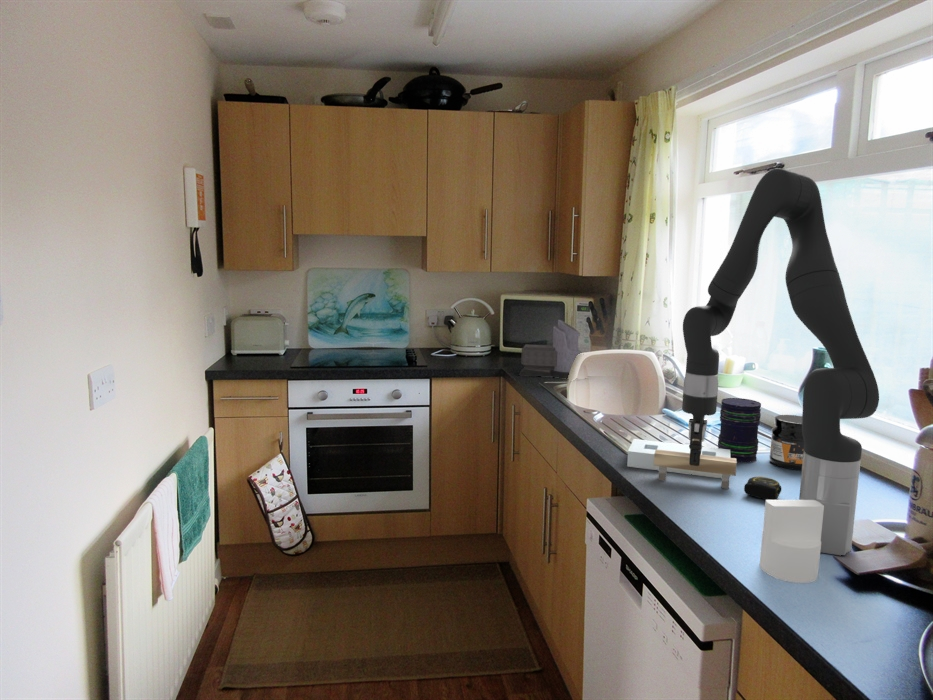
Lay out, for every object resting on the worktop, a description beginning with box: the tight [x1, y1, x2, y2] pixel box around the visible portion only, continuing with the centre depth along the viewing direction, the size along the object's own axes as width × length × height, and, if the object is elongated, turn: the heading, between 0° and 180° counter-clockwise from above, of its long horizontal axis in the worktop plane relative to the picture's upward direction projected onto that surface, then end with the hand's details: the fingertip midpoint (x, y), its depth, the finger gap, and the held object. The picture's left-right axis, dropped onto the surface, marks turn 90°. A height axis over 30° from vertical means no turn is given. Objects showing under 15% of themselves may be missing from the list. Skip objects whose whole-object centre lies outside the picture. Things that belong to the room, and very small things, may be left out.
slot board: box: [626, 438, 730, 479], centre depth 170 cm, size 12×24×4 cm, turn 69°
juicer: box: [518, 319, 583, 379], centre depth 290 cm, size 30×16×24 cm, turn 80°
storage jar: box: [717, 397, 762, 464], centre depth 177 cm, size 10×10×15 cm
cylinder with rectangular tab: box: [759, 499, 824, 584], centre depth 114 cm, size 9×9×12 cm
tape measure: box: [743, 476, 782, 500], centre depth 149 cm, size 7×7×4 cm
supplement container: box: [768, 414, 804, 471], centre depth 172 cm, size 10×10×12 cm
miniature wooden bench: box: [654, 449, 738, 490], centre depth 157 cm, size 4×18×6 cm, turn 69°
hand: (695, 459), depth 157 cm, fingers open, 8 cm apart
